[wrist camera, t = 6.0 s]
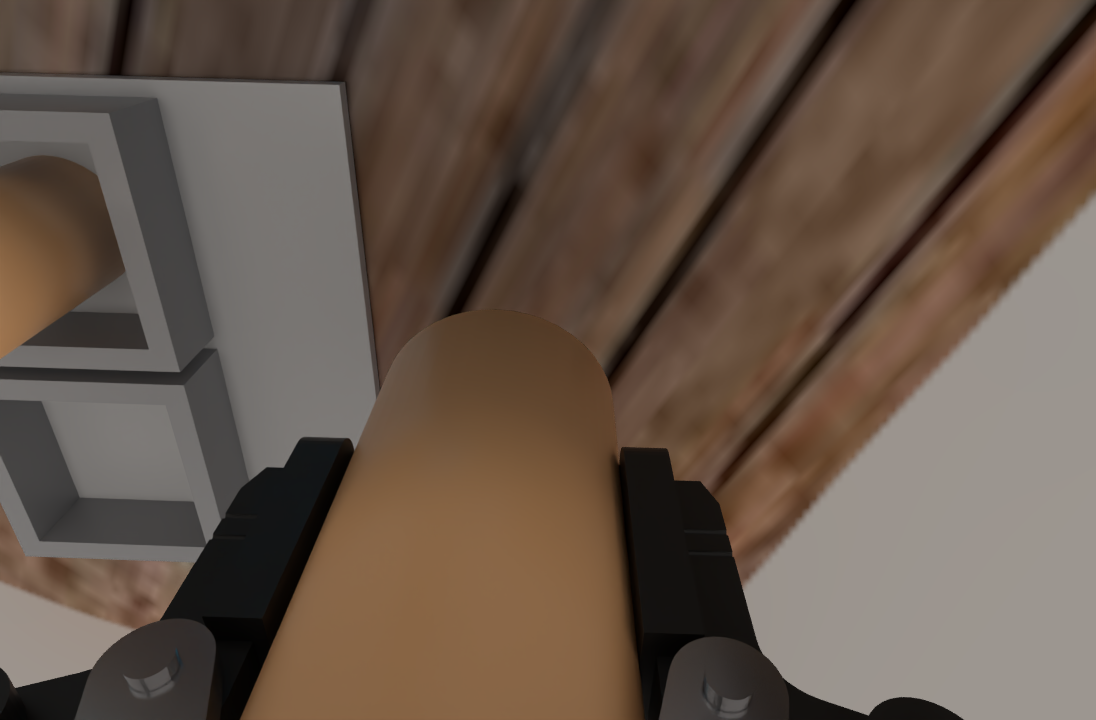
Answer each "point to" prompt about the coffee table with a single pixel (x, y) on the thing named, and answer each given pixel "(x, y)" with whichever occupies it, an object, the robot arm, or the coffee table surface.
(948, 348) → the coffee table surface
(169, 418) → the housing
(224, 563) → the robot arm
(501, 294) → the coffee table surface
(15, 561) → the coffee table surface
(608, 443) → the orange peg
